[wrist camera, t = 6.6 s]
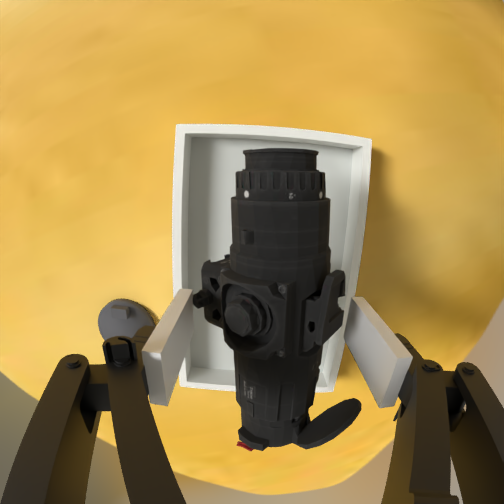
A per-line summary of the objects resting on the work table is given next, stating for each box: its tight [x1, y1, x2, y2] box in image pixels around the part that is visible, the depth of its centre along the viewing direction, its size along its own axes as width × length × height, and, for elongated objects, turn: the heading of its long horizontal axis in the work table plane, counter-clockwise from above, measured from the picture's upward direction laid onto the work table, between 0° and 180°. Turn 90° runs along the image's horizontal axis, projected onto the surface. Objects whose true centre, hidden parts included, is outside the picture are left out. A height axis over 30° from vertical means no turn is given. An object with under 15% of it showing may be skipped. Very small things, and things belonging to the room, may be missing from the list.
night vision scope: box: [193, 148, 361, 451], centre depth 16 cm, size 8×18×10 cm
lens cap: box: [98, 299, 155, 341], centre depth 26 cm, size 6×6×2 cm
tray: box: [172, 124, 372, 392], centre depth 24 cm, size 22×14×3 cm, turn 177°
